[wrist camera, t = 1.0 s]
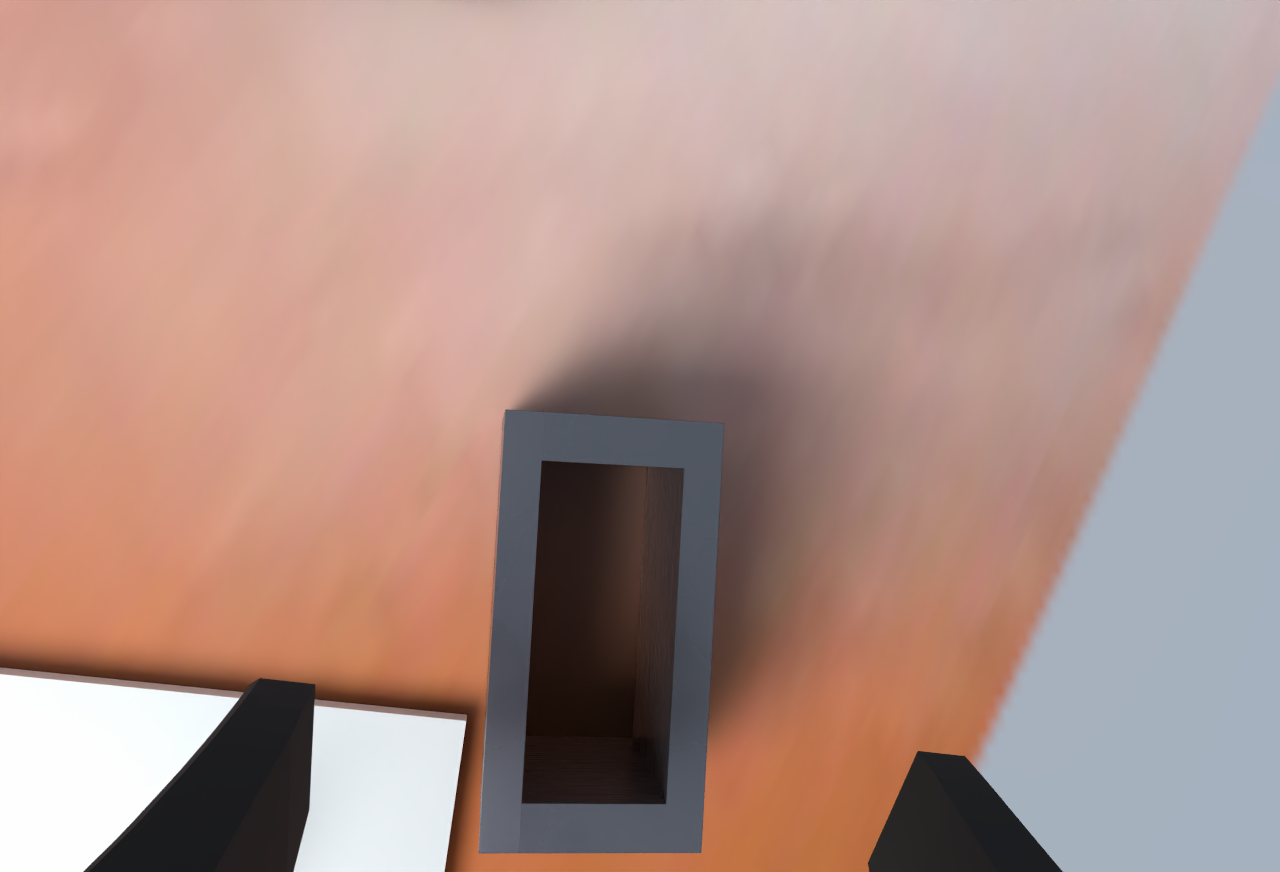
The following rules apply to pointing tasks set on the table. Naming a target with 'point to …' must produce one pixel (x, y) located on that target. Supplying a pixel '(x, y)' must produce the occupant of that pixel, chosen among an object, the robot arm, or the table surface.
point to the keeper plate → (170, 735)
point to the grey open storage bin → (666, 655)
